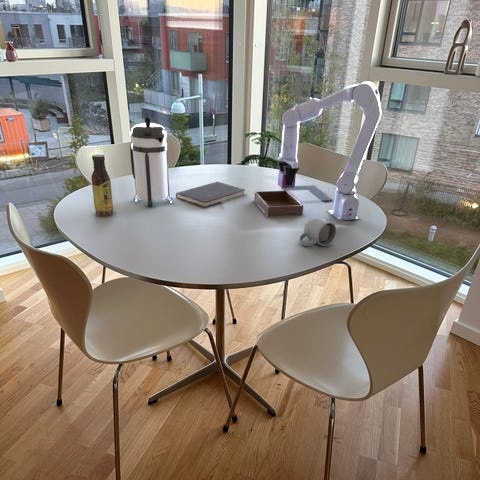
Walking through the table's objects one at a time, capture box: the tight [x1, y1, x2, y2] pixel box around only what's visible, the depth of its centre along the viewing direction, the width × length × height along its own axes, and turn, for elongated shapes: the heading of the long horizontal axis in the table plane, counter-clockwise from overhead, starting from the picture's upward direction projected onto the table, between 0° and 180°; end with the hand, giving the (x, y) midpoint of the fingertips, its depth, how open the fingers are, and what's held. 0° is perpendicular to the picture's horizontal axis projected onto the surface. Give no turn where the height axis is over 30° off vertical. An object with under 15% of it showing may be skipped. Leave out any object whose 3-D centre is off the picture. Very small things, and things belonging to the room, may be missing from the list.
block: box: [277, 170, 297, 189], centre depth 171 cm, size 5×5×5 cm
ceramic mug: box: [299, 216, 337, 247], centre depth 146 cm, size 11×8×8 cm
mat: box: [283, 185, 333, 203], centre depth 191 cm, size 20×14×1 cm
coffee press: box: [129, 116, 174, 208], centre depth 169 cm, size 17×16×30 cm
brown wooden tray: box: [254, 190, 304, 218], centre depth 173 cm, size 18×13×4 cm
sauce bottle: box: [91, 154, 114, 217], centre depth 158 cm, size 7×6×20 cm
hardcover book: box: [175, 181, 246, 209], centre depth 183 cm, size 16×23×2 cm
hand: (286, 183), depth 172 cm, fingers closed on block, 5 cm apart
